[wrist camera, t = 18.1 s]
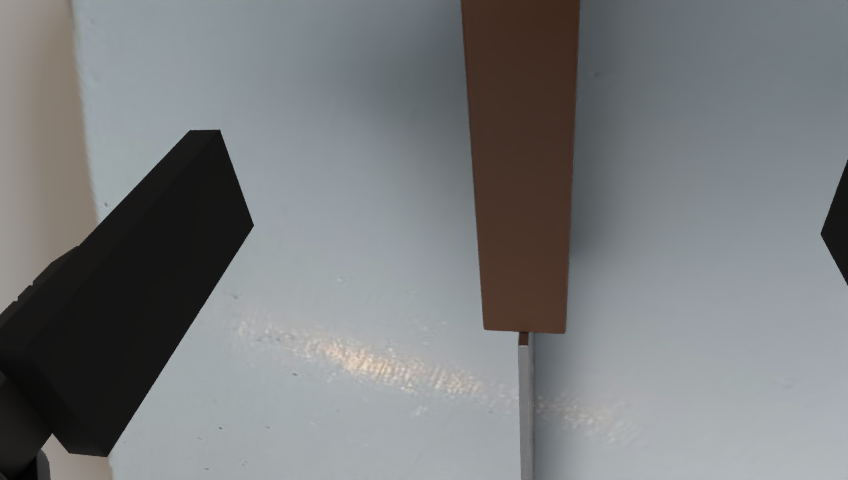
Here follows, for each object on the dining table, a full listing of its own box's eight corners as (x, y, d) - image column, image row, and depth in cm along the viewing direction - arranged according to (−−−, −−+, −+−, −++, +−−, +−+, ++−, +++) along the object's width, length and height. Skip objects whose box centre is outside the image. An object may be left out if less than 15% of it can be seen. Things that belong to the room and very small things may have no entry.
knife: (477, -60, 15) (454, -14, 12) (578, -69, 14) (582, -22, 11) (505, 483, 29) (498, 569, 26) (556, 489, 29) (555, 576, 26)
